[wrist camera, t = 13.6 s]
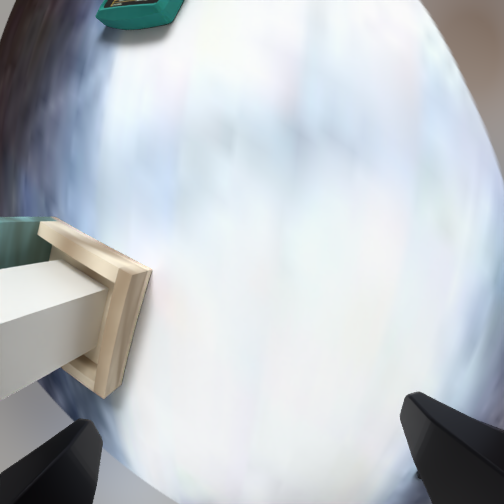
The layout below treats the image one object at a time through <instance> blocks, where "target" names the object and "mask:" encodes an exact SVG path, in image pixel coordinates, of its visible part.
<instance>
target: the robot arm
mask: <svg viewBox="0 0 504 504" xmlns="http://www.w3.org/2000/svg"><path fill="white" fill-rule="evenodd" d="M400 421H401V424H402V427H403V430H404V433H405V436H406V439H407V442H408V445H409V448H410V451H411V455H412V457H413V460H414V463H415V465H416V467H417V470H418V472H417V476H418V478H419V479H422V481H423V483H424V485H425V487H426V490H427V492H428V494H429V497H430V499H431V501H432V503H433V504H504V430H502V429H499V428H497V427H494V426H491V425H489V424H486V423H483V422H481V421H478V420H476V419H473V418H471V417H469V416H467V415H465V414H463V413H461V412H459V411H457V410H455V409H453V408H451V407H449V406H447V405H445V404H443V403H441V402H439V401H437V400H435V399H433V398H431V397H429V396H427V395H425V394H423V393H422V392H414V393H411V394H408V395H406V397H405V399H404V402H403V406H402V409H401V413H400ZM102 446H103V441H102V438H101V436H100V434H99V432H98V430H97V429H96V427H95V425H94V423H93V422H92V421H91V420H87V419H78V420H76V421H75V422H73V423H72V424H71V425H69V426H68V427H66V428H65V429H64V430H62V431H61V432H59V433H58V434H56V435H55V436H54V437H52V438H51V439H49V440H48V441H47V442H45V443H44V444H43V445H41V446H39V447H38V448H37V449H35V450H34V451H32V452H31V453H29V454H28V455H26V456H25V457H24V458H22V459H21V460H19V461H18V462H16V463H15V464H13V465H12V466H10V467H9V468H7V469H6V470H4V471H3V472H1V474H0V504H92V503H93V499H94V495H95V491H96V486H97V481H98V473H99V466H100V459H101V452H102Z"/></svg>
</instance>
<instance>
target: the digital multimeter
mask: <svg viewBox="0 0 504 504" xmlns="http://www.w3.org/2000/svg"><path fill="white" fill-rule="evenodd" d="M183 1H184V0H104V2H103V3H102V5H101V6H100V8H99V10H98V12H97V14H96V18H97V19H98V20H100V21H101V22H102V23H103V24H104V25H106V26H108V27H112V28H116V29H124V30H135V29H143V28H150V27H155V26H160V25H165V24H169V23H171V22H172V21H173V20H174V18H175V16H176V14H177V12H178V10H179V8H180V7H181V5H182V3H183Z"/></svg>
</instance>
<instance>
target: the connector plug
mask: <svg viewBox="0 0 504 504" xmlns="http://www.w3.org/2000/svg"><path fill="white" fill-rule="evenodd" d="M108 290H109V288H108V287H106V286H104V285H103V284H101V283H99V282H98V281H96V280H94V279H93V278H91V277H89V276H88V275H86V274H85V273H83V272H81V271H80V270H78V269H77V268H75V267H73V266H72V265H70V264H69V263H67V262H66V261H64V260H63V259H60V260H54V261H47V262H41V263H35V264H29V265H23V266H17V267H11V268H5V269H0V401H1V400H3V399H4V398H6V397H8V396H10V395H12V394H13V393H15V392H17V391H19V390H21V389H22V388H24V387H26V386H28V385H30V384H31V383H33V382H35V381H37V380H39V379H40V378H42V377H44V376H46V375H47V374H49V373H51V372H53V371H55V370H56V369H58V368H60V367H62V366H63V365H65V364H67V363H69V362H71V361H72V360H74V359H76V358H78V357H79V356H81V355H83V354H85V353H86V352H88V351H90V350H92V349H94V348H95V347H97V342H98V336H99V331H100V326H101V321H102V316H103V312H104V307H105V302H106V298H107V294H108Z"/></svg>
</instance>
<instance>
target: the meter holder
mask: <svg viewBox="0 0 504 504" xmlns="http://www.w3.org/2000/svg"><path fill="white" fill-rule="evenodd" d="M60 259H63V260H64V261H66V262H67V263H69V264H70V265H72V266H73V267H75V268H77V269H78V270H80V271H81V272H83V273H85V274H86V275H88V276H89V277H91V278H93V279H94V280H96V281H98V282H99V283H101V284H103V285H104V286H106V287H108V288H109V290H108V294H107V298H106V302H105V307H104V312H103V316H102V321H101V326H100V331H99V336H98V342H97V347H95V348H94V349H92V350H90V351H88V352H86V353H85V354H83V355H81V356H79V357H78V358H76V359H74V360H72V361H71V362H69V363H67V364H65V365H63V366H62V367H61V368H62V369H63V370H65V371H66V372H67V373H69V374H70V375H71V376H72V377H74V378H75V379H76V380H78V381H79V382H80V383H82V384H83V385H85V386H86V387H87V388H89V389H90V390H91V391H93V392H94V393H96V394H97V395H99V396H100V397H101V398H103V399H105V398H106V397H107V396H108V395H110V394H111V393H112V392H113V391H114V390H116V389H117V388H118V387H119V386H121V384H122V379H123V375H124V371H125V366H126V362H127V358H128V354H129V350H130V346H131V342H132V338H133V334H134V330H135V327H136V323H137V319H138V316H139V312H140V309H141V305H142V302H143V298H144V295H145V291H146V288H147V285H148V281H149V278H150V275H151V272H152V269H151V268H149V267H147V266H145V265H143V264H141V263H139V262H137V261H135V260H133V259H131V258H129V257H127V256H125V255H123V254H122V253H120V252H118V251H116V250H114V249H112V248H110V247H108V246H107V245H105V244H103V243H101V242H99V241H97V240H95V239H94V238H92V237H90V236H88V235H86V234H85V233H83V232H81V231H79V230H77V229H76V228H74V227H72V226H70V225H69V224H67V223H65V222H63V221H62V220H60V219H58V218H56V217H0V269H5V268H11V267H17V266H23V265H29V264H35V263H41V262H47V261H54V260H60Z"/></svg>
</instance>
